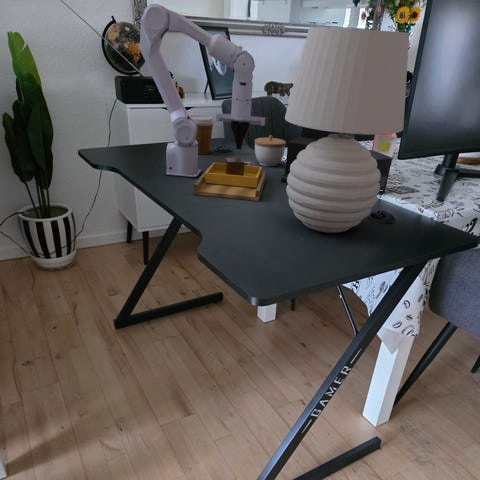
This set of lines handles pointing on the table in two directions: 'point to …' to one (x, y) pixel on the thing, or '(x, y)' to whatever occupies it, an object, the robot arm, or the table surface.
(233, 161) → the block
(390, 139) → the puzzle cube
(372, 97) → the table lamp
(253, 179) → the tray
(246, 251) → the table surface
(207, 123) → the disposable coffee cup
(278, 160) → the trinket box
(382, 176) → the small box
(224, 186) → the board
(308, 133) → the bookend
